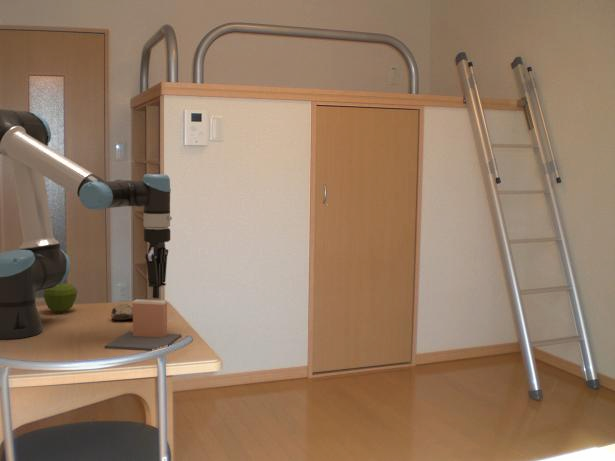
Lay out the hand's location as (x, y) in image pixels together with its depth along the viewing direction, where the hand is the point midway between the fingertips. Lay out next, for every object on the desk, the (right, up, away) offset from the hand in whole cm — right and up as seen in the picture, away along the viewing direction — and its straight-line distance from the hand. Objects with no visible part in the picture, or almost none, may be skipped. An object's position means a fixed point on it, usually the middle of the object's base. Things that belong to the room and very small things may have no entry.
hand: (157, 308), depth 203 cm
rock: (-13, -6, +19) cm, 23 cm away
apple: (-38, -4, +27) cm, 47 cm away
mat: (-1, -8, -9) cm, 13 cm away
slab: (-1, -7, -5) cm, 9 cm away
